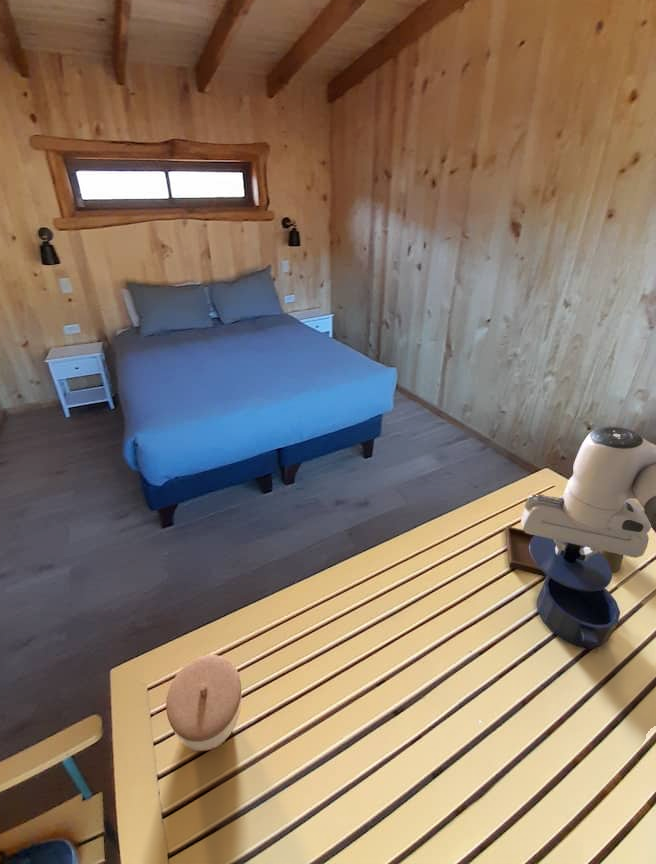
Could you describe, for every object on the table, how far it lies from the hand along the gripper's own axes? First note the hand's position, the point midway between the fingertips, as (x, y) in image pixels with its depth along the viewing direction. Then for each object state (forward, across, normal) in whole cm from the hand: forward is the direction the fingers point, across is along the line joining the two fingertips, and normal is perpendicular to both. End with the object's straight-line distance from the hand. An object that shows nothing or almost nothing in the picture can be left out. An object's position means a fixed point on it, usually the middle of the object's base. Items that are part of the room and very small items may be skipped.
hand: (570, 555), depth 82 cm
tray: (+17, +1, +15) cm, 23 cm away
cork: (+18, +15, +18) cm, 30 cm away
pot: (+17, +4, 0) cm, 18 cm away
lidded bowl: (+16, -61, -45) cm, 77 cm away
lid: (+1, 0, 0) cm, 1 cm away
